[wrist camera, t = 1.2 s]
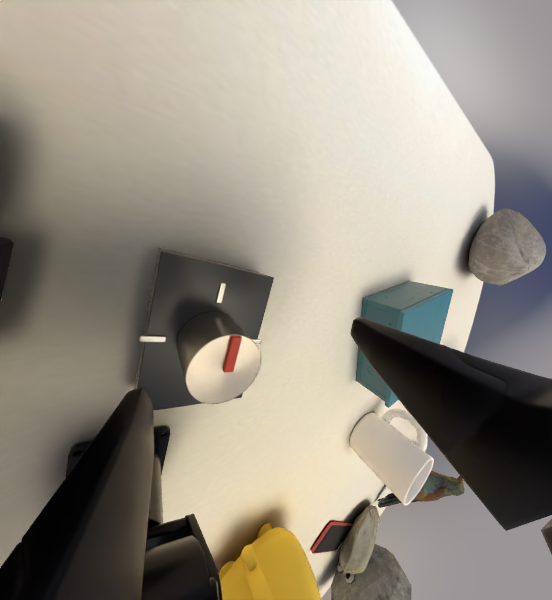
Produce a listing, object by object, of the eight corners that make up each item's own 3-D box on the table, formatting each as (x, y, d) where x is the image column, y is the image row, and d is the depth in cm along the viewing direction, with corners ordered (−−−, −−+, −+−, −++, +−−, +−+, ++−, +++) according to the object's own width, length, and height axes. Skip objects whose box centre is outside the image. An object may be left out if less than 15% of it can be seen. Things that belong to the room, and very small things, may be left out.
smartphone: (336, 551, 50) (311, 554, 42) (334, 548, 50) (309, 551, 43) (353, 525, 51) (332, 524, 43) (351, 522, 52) (330, 520, 44)
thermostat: (233, 377, 21) (245, 398, 18) (130, 386, 16) (126, 416, 13) (260, 272, 19) (278, 278, 16) (154, 246, 14) (155, 249, 11)
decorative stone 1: (437, 620, 43) (408, 558, 47) (357, 695, 38) (332, 620, 42) (389, 560, 59) (370, 517, 63) (328, 607, 54) (311, 558, 58)
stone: (366, 557, 42) (384, 494, 53) (337, 531, 46) (359, 478, 57) (360, 614, 45) (378, 544, 56) (333, 585, 49) (355, 525, 60)
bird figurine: (383, 507, 60) (476, 548, 48) (372, 505, 55) (474, 551, 42) (382, 453, 68) (463, 476, 55) (373, 447, 62) (460, 470, 50)
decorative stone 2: (516, 260, 46) (562, 303, 35) (456, 271, 51) (480, 311, 40) (526, 193, 38) (587, 221, 28) (455, 214, 44) (484, 245, 33)
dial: (231, 365, 16) (253, 401, 13) (171, 368, 14) (178, 414, 10) (244, 314, 16) (271, 338, 12) (183, 308, 13) (195, 335, 10)
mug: (377, 389, 39) (441, 433, 30) (390, 401, 43) (448, 442, 35) (342, 444, 37) (398, 506, 29) (359, 450, 42) (411, 505, 33)
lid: (384, 405, 29) (421, 432, 25) (399, 311, 23) (449, 327, 20) (428, 370, 34) (464, 388, 30) (448, 288, 29) (495, 297, 25)
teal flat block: (355, 380, 33) (386, 402, 29) (362, 298, 28) (401, 310, 24) (396, 354, 39) (428, 370, 34) (409, 281, 33) (448, 288, 29)
